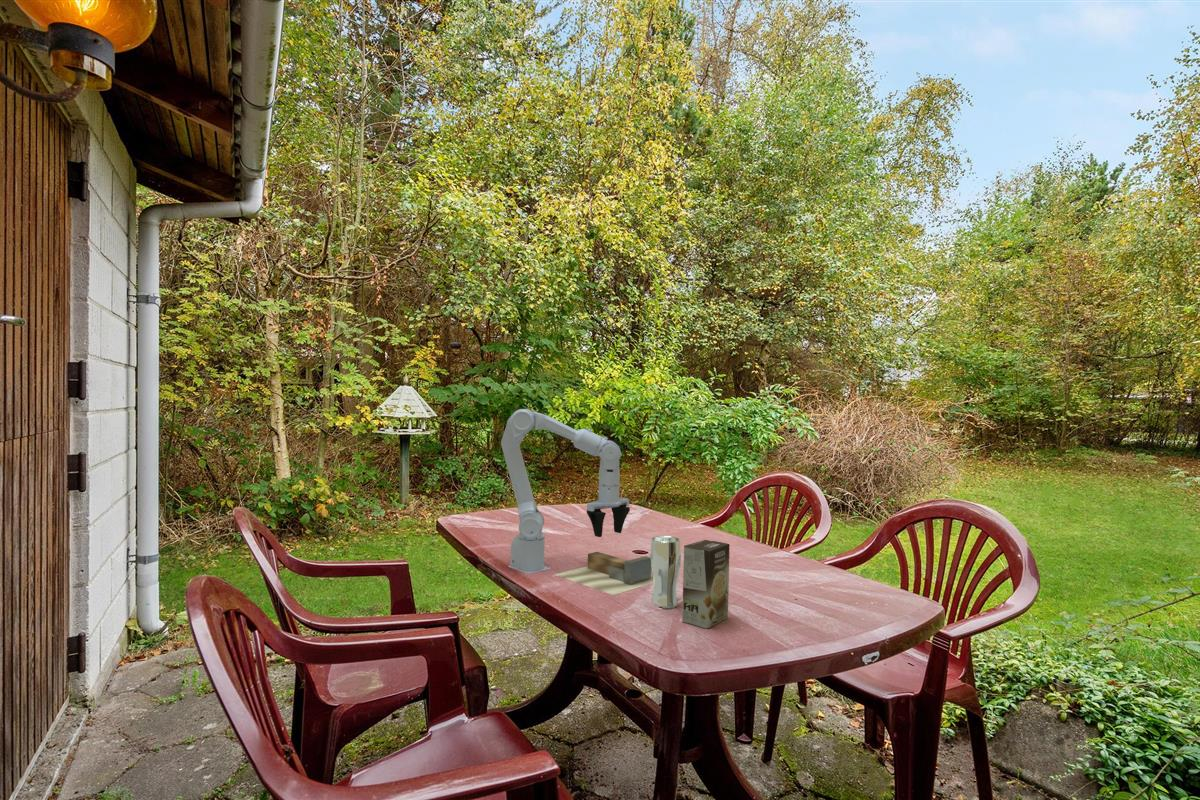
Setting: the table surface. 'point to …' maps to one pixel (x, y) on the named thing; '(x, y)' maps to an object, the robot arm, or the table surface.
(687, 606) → the coffee box
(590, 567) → the brown wooden block
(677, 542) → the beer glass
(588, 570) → the board
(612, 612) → the table surface
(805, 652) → the table surface
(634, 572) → the bracket
